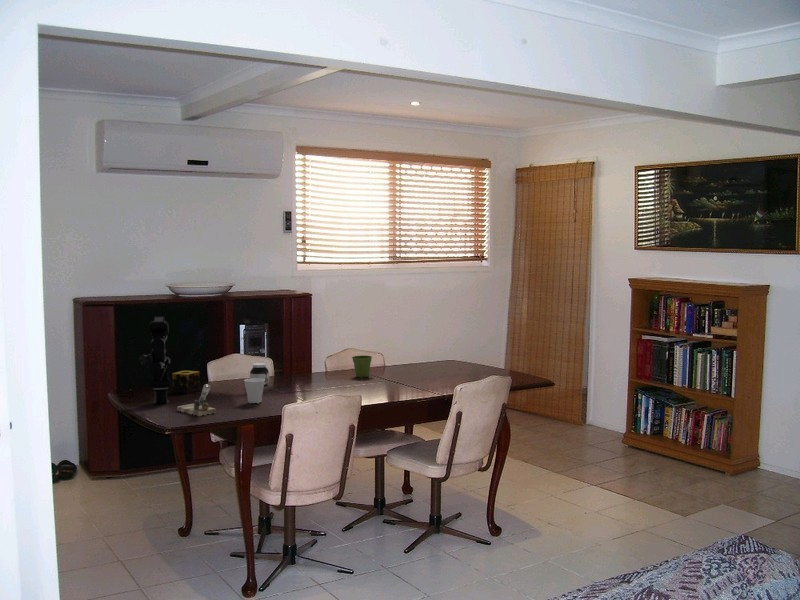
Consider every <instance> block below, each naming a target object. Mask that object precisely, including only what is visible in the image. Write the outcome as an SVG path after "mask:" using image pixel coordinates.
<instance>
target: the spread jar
mask: <svg viewBox="0 0 800 600" xmlns="http://www.w3.org/2000/svg"><path fill="white" fill-rule="evenodd" d="M269 371H270V370H269V369H268V368H267V364H266V363H264V362H256V363H253V364H252V368H251V370H250V371H249V379H251V378H261V379H265V381H264V387H266V386H267V385H268V384H269V382H270V372H269Z"/></svg>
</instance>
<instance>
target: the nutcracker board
mask: <svg viewBox="0 0 800 600" xmlns="http://www.w3.org/2000/svg"><path fill="white" fill-rule="evenodd" d="M176 410H177V412H180V411H181V412H180V413H184V412H185V413H184V414H188V415H192V414H193V415H192V416H195V415H197V417H203V416H202V415H204V416H208V415H207V414H209V415H213V414H212V413H214V414H217V408H214V407H210V404H209V403H208V399H206V398H205V401H204V404H203V405H202V406H199V400H197V399H193V403H189V404H185V405H184V404H183V405H179V406H178V405H177V409H176Z"/></svg>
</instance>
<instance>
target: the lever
mask: <svg viewBox="0 0 800 600" xmlns="http://www.w3.org/2000/svg"><path fill="white" fill-rule="evenodd" d="M210 389H211V385H209V384H207V383H205V384H204V385H203V387H202V389H201V391H200V393H201V394H200V396H199V399H198V401H199V406H202V405H203V404H204V401H205V399H206V398H207V396H208V395H209V392H210Z"/></svg>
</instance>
